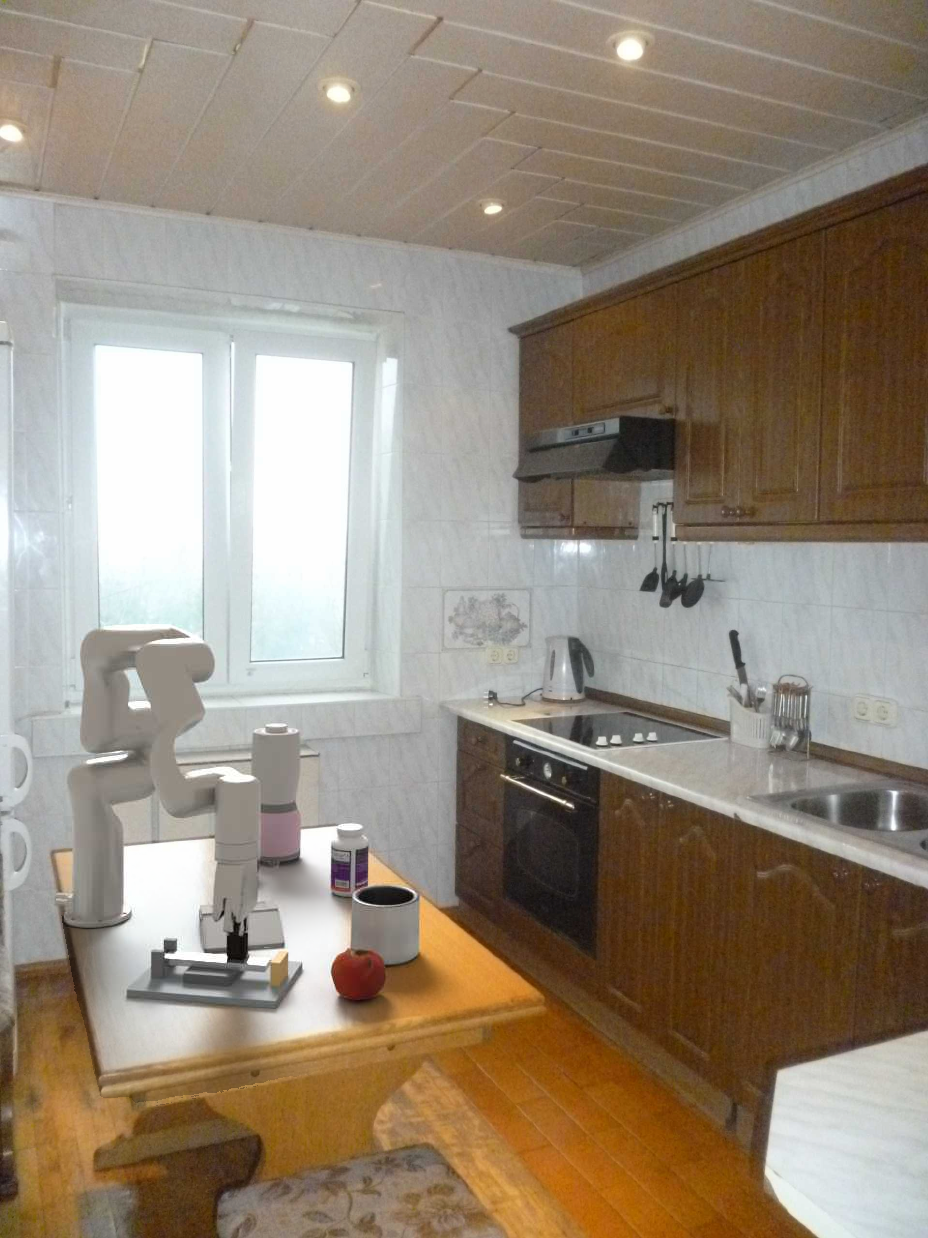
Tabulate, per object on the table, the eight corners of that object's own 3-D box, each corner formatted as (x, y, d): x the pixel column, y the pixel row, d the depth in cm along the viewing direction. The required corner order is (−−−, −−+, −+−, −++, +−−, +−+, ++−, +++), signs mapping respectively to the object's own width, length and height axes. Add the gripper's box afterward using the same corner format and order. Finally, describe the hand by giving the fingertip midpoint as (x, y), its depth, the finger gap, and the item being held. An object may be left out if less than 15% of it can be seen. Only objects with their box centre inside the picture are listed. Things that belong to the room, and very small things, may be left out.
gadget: (285, 950, 192) (286, 930, 192) (202, 957, 188) (202, 937, 188) (273, 908, 214) (273, 890, 214) (198, 913, 210) (198, 895, 210)
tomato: (334, 983, 177) (335, 937, 176) (388, 985, 176) (389, 939, 176) (326, 1007, 167) (326, 959, 167) (382, 1009, 167) (383, 961, 167)
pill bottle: (363, 885, 228) (364, 820, 227) (371, 897, 220) (373, 830, 219) (326, 888, 226) (328, 823, 225) (334, 900, 218) (335, 832, 217)
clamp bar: (155, 965, 175) (155, 954, 175) (164, 957, 178) (164, 946, 178) (264, 974, 173) (264, 962, 173) (271, 965, 176) (271, 954, 176)
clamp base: (126, 996, 169) (126, 962, 169) (165, 958, 185) (166, 927, 185) (275, 1008, 166) (276, 973, 166) (302, 968, 182) (302, 936, 182)
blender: (280, 870, 237) (282, 732, 234) (236, 862, 242) (238, 726, 239) (317, 852, 251) (320, 722, 249) (275, 845, 256) (277, 717, 254)
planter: (402, 973, 182) (403, 911, 181) (338, 961, 186) (339, 900, 185) (429, 948, 193) (430, 889, 193) (368, 937, 198) (369, 880, 197)
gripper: (231, 836, 181) (230, 939, 183) (199, 861, 167) (199, 973, 168) (272, 838, 181) (272, 942, 182) (244, 863, 166) (244, 976, 167)
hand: (237, 956), depth 175 cm, fingers closed
